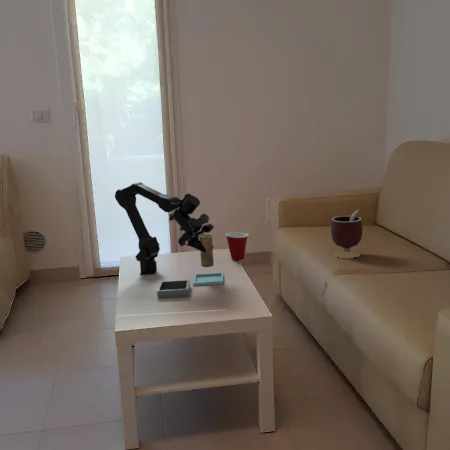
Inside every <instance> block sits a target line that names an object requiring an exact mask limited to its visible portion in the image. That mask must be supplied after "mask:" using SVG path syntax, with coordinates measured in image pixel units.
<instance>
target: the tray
mask: <svg viewBox="0 0 450 450" xmlns="http://www.w3.org/2000/svg"><path fill="white" fill-rule="evenodd" d="M213 285H214V286H215V285H224V272H206V273H205V272H204V273H194V276H193V283H192V286H194V287H195V286H196V287H197V286H213Z"/></svg>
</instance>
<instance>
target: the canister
mask: <svg viewBox="0 0 450 450" xmlns="http://www.w3.org/2000/svg"><path fill="white" fill-rule="evenodd" d="M198 237H199V241H200V242H201V243H202V245H203V246H204V248H205V249H206V252H205V253H204V252H202V251H200V250H199V251H200V266H201V267H202V268H210V267H213V266H214V265H215V263H214V248H213V247H214V245H213V246H212V244H213V233H212V232H210V233H201V234H199V236H198Z"/></svg>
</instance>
